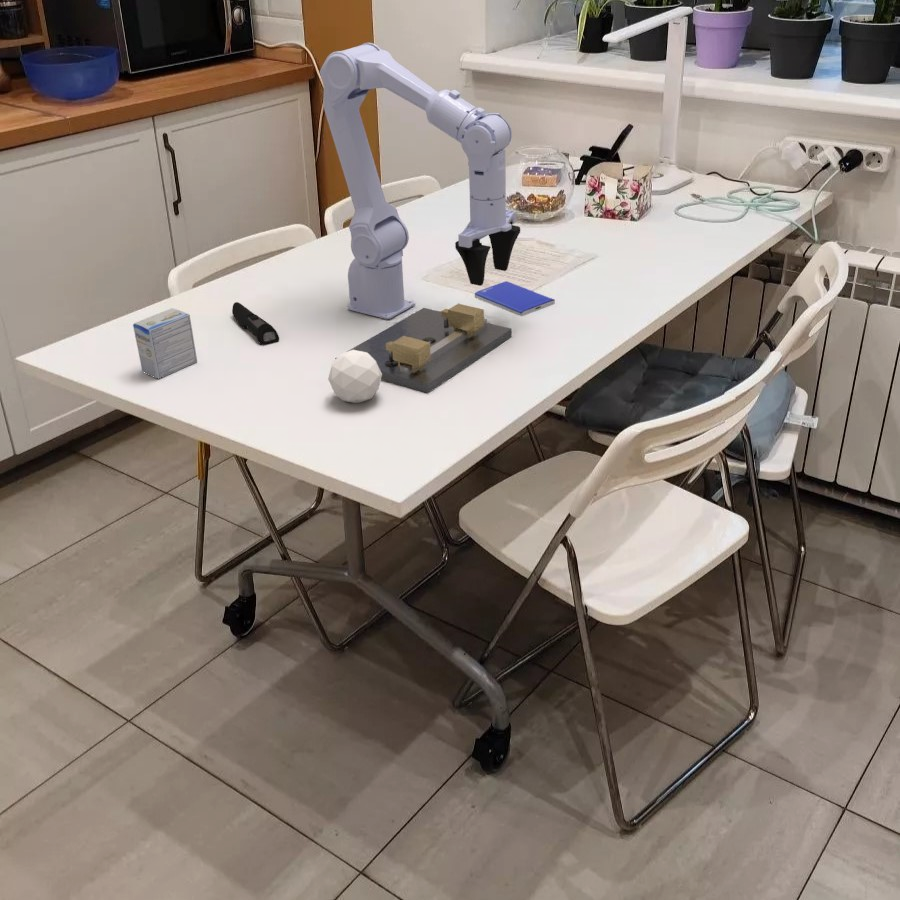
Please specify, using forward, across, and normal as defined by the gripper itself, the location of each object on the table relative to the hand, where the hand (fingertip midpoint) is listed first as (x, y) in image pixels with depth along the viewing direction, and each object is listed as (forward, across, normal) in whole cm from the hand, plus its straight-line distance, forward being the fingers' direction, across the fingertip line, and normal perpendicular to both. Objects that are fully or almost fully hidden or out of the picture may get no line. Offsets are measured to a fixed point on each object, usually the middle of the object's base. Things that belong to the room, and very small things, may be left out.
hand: (488, 276), depth 172 cm
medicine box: (+10, -38, +37) cm, 54 cm away
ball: (+10, -32, +4) cm, 33 cm away
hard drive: (+10, +13, +3) cm, 17 cm away
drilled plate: (+9, -13, +4) cm, 16 cm away
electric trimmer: (+10, -20, +36) cm, 42 cm away
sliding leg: (+7, -7, +1) cm, 10 cm away
